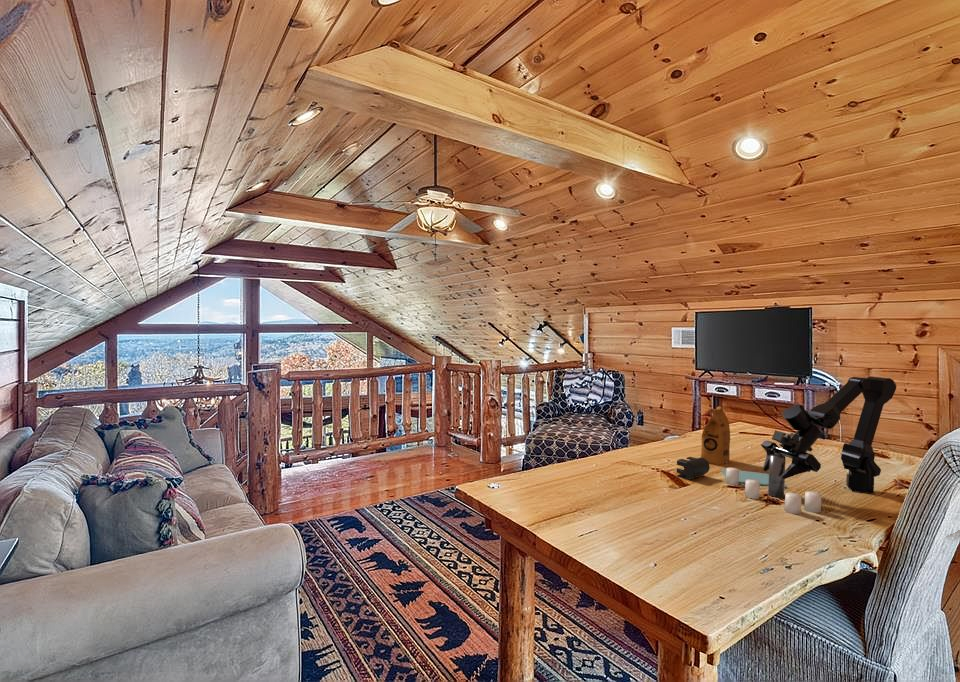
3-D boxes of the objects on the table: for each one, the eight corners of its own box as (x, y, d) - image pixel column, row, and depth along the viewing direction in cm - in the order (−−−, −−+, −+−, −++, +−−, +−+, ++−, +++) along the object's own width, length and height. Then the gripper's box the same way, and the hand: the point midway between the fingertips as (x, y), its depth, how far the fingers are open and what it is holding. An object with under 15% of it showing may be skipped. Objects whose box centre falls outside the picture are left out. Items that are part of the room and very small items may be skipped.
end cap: (693, 482, 164) (694, 463, 164) (675, 476, 170) (676, 458, 170) (709, 477, 170) (710, 459, 170) (691, 472, 176) (692, 454, 176)
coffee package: (696, 461, 190) (698, 407, 190) (708, 455, 199) (709, 404, 198) (722, 466, 183) (724, 411, 182) (733, 460, 192) (735, 407, 191)
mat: (774, 475, 173) (774, 474, 173) (786, 488, 160) (786, 486, 160) (720, 470, 178) (721, 468, 178) (728, 481, 165) (728, 480, 165)
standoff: (782, 494, 154) (784, 455, 153) (785, 498, 150) (786, 458, 149) (767, 492, 155) (768, 453, 155) (769, 496, 151) (770, 456, 151)
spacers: (750, 480, 167) (750, 466, 167) (824, 512, 139) (824, 495, 139) (715, 482, 165) (716, 468, 164) (783, 515, 136) (784, 498, 136)
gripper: (766, 417, 162) (737, 449, 160) (814, 429, 143) (782, 466, 142) (785, 438, 163) (756, 471, 162) (835, 453, 145) (803, 490, 143)
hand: (773, 474), depth 152 cm, fingers open, 7 cm apart
